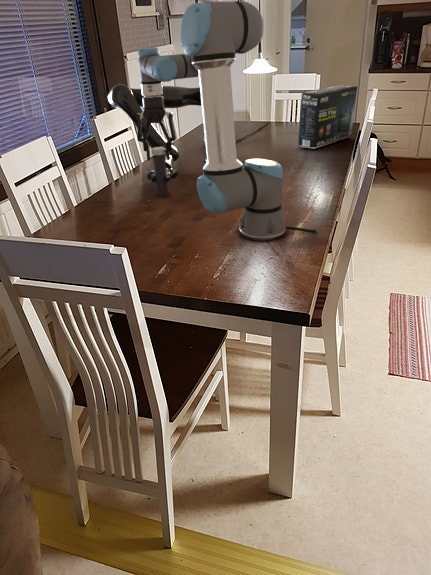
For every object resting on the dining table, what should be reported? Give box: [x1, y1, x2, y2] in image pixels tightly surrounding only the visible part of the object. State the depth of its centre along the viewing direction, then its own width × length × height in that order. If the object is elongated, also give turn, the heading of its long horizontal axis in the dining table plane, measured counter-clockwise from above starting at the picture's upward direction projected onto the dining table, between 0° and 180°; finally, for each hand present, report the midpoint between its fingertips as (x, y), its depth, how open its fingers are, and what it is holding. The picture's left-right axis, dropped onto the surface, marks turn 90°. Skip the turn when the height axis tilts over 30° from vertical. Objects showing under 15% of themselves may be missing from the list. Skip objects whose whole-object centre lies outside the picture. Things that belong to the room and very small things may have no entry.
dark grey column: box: [152, 154, 169, 197], centre depth 180 cm, size 5×5×17 cm
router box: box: [297, 84, 358, 151], centre depth 238 cm, size 36×11×27 cm, turn 134°
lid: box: [150, 147, 165, 156], centre depth 176 cm, size 5×5×2 cm
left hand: (160, 180), depth 179 cm, fingers closed on dark grey column, 4 cm apart
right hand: (158, 159), depth 177 cm, fingers open, 7 cm apart
